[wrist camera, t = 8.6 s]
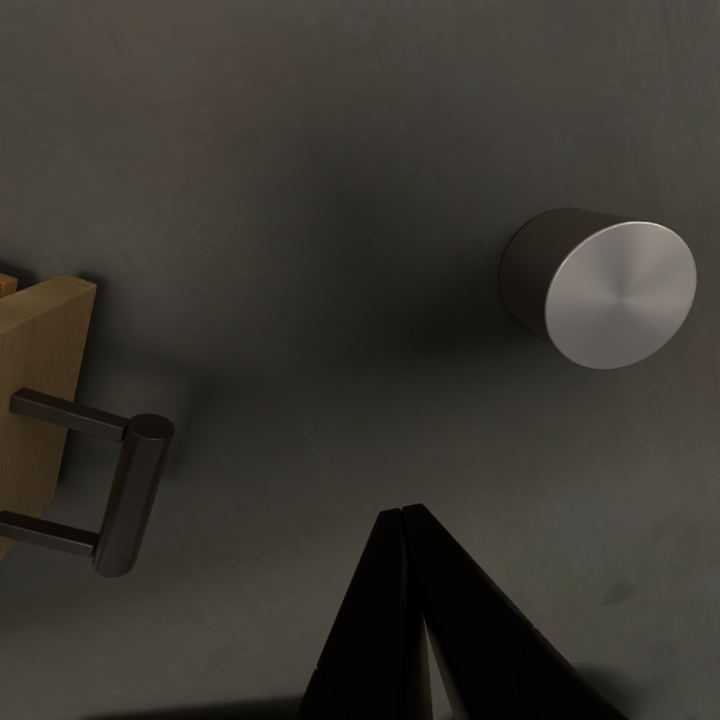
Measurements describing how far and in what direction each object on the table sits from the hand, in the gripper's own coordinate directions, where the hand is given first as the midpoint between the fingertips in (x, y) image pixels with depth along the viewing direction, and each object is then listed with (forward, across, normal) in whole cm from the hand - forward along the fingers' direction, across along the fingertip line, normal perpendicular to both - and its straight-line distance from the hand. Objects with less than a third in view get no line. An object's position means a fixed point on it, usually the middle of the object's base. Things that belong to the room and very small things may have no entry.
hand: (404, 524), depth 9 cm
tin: (+11, -8, -1) cm, 14 cm away
